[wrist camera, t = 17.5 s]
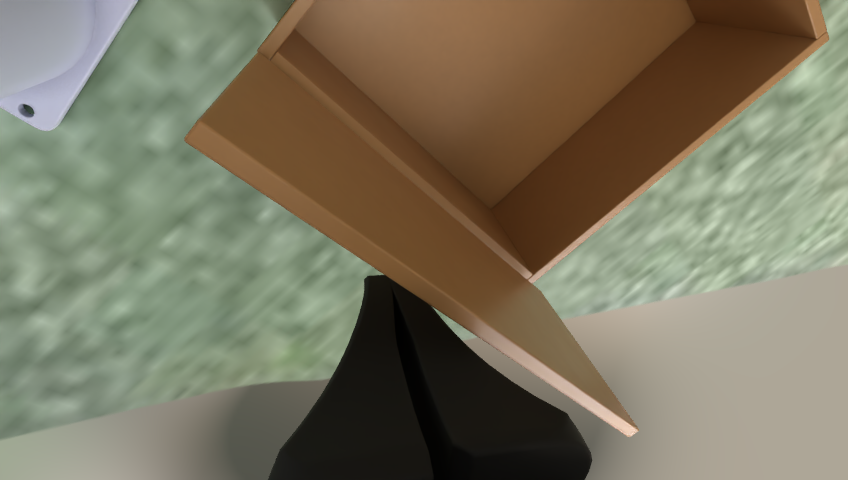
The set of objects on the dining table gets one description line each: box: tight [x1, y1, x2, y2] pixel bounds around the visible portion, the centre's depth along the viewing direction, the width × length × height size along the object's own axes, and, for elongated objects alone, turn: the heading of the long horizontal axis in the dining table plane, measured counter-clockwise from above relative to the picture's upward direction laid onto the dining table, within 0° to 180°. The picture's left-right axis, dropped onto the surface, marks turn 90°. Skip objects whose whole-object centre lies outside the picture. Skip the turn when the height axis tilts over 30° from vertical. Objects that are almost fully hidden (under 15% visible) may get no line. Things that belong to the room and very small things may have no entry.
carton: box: [257, 0, 829, 284], centre depth 16 cm, size 14×14×6 cm
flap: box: [184, 52, 639, 437], centre depth 12 cm, size 7×14×1 cm
